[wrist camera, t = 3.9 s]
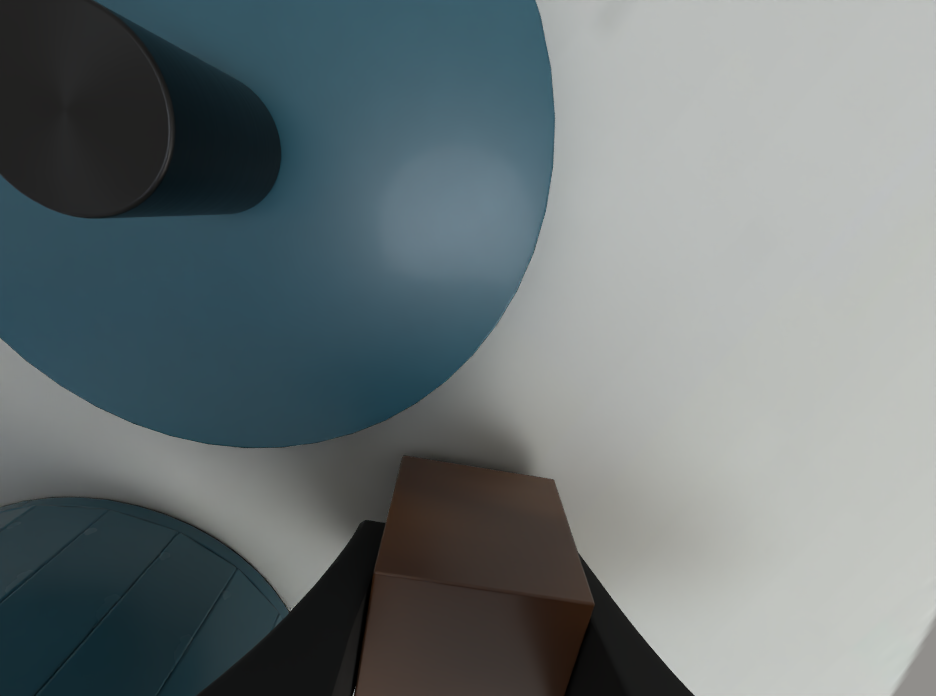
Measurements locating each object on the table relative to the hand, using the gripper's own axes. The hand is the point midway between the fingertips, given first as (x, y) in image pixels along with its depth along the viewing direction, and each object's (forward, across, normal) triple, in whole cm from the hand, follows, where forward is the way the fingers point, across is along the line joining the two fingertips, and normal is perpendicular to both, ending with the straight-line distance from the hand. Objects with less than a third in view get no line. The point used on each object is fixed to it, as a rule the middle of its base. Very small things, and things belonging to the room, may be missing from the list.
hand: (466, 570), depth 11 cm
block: (+1, 0, 0) cm, 1 cm away
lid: (+1, +7, -8) cm, 11 cm away
